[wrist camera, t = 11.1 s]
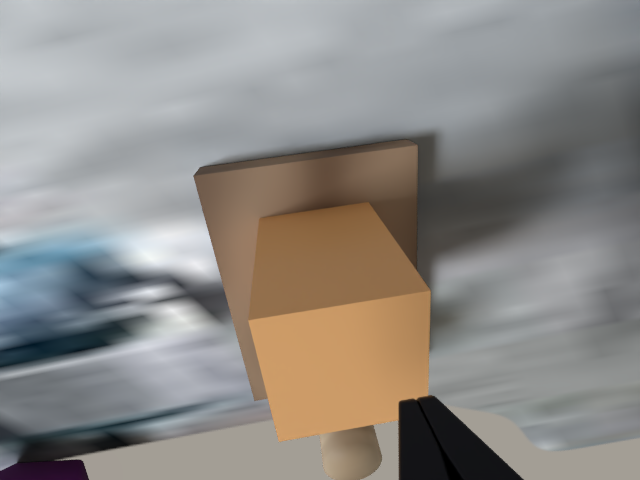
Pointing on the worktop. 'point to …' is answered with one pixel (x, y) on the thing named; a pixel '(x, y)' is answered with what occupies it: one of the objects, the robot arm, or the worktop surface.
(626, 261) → the worktop surface
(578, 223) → the worktop surface
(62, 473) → the perfume bottle
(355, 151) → the wooden holder
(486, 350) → the worktop surface
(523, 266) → the worktop surface
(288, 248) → the kraft paper carton
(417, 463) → the robot arm
